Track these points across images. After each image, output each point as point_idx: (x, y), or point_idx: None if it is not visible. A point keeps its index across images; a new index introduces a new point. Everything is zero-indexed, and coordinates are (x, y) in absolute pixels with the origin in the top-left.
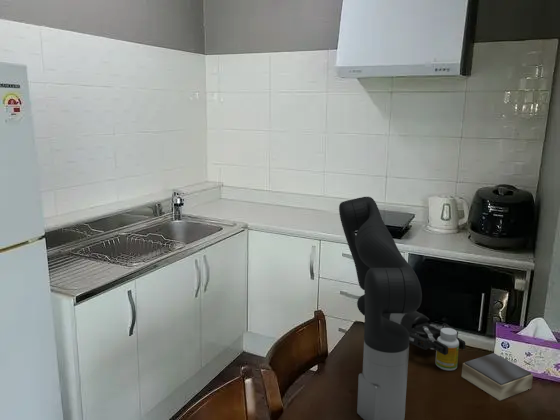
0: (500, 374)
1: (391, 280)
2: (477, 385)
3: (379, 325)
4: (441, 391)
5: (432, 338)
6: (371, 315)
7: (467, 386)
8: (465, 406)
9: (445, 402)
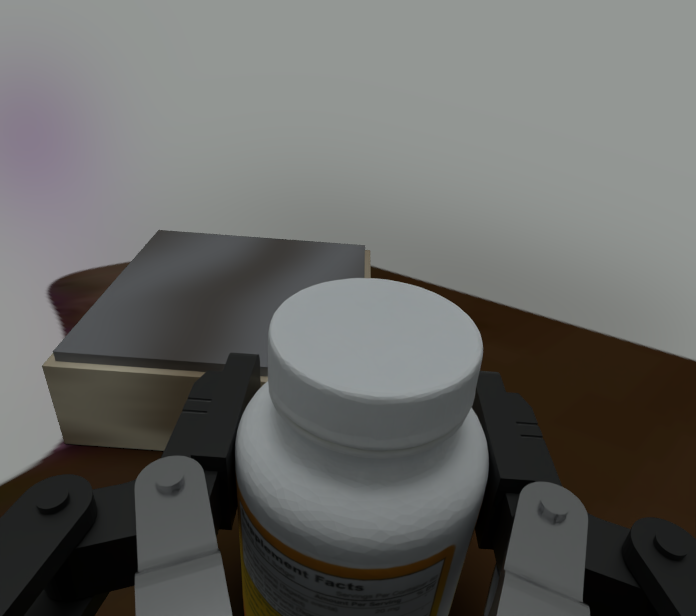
0: (295, 264)
1: None
2: None
3: None
4: (586, 435)
5: (540, 535)
6: None
7: None
8: (531, 342)
9: (610, 384)
